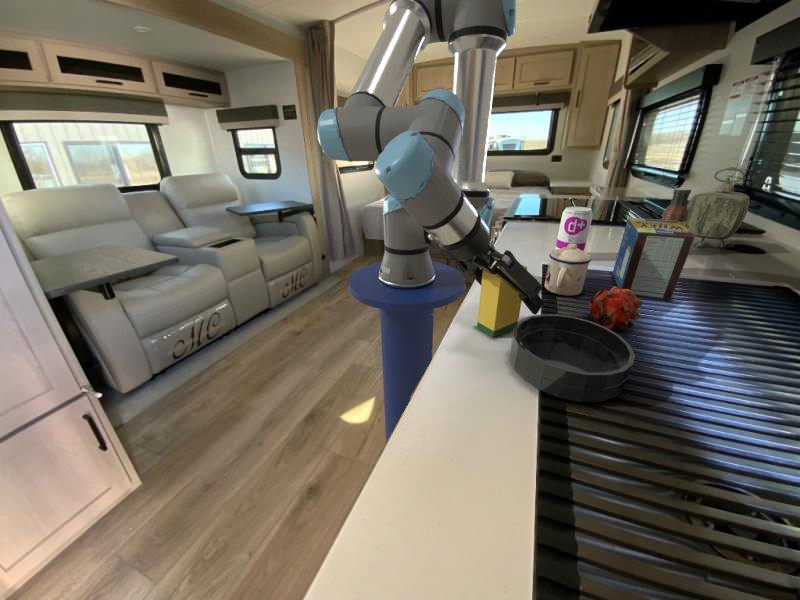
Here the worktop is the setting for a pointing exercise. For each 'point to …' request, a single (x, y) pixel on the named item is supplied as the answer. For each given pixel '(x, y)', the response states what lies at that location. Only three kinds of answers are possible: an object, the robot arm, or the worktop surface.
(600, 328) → the bowl
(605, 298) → the dragon fruit
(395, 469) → the worktop surface
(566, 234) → the supplement can
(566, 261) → the teacup with lid
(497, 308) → the sponge
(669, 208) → the sauce bottle
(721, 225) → the tabletop clock
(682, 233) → the protein box
